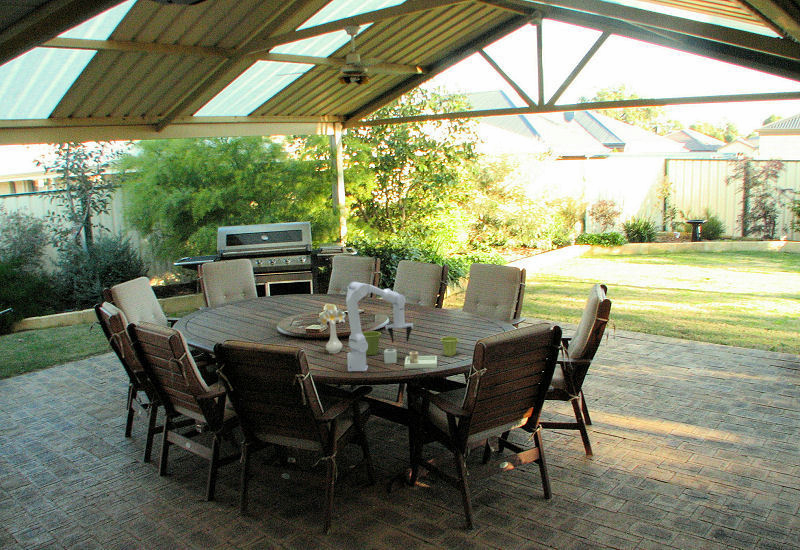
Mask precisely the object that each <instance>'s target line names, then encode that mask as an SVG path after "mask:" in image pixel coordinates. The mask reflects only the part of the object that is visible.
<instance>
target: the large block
mask: <svg viewBox="0 0 800 550" xmlns="http://www.w3.org/2000/svg"><path fill="white" fill-rule="evenodd" d="M383 356H384V357H383V358H384V364H397V361H398V350H397V348H385V349H384V352H383Z"/></svg>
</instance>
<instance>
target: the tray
mask: <svg viewBox="0 0 800 550" xmlns="http://www.w3.org/2000/svg"><path fill="white" fill-rule="evenodd" d="M437 357H438V356H437V355H418V363H415V364H410V355H409V356H405V359H404V370H418V369H419V370H422V369H424V370H427V369H437V368H438V358H437Z"/></svg>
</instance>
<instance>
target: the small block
mask: <svg viewBox="0 0 800 550" xmlns="http://www.w3.org/2000/svg"><path fill="white" fill-rule="evenodd" d="M409 356H410V364H415V363H418V356H419V351H410V352H409Z"/></svg>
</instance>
